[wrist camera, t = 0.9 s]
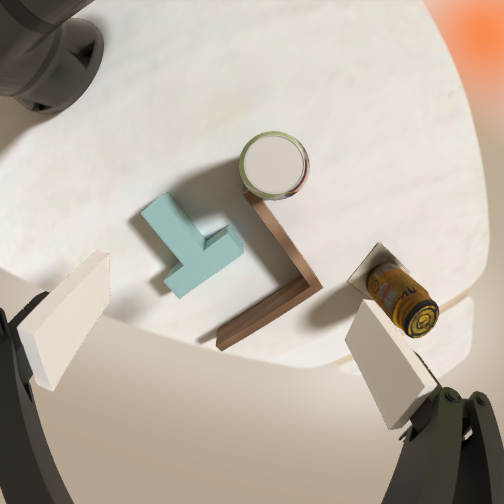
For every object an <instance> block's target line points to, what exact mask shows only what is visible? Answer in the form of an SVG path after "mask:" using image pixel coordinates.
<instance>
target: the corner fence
mask: <svg viewBox="0 0 504 504" xmlns="http://www.w3.org/2000/svg"><path fill="white" fill-rule="evenodd" d="M243 195H244V196H245V198H246V199H247V200H248V202H249V203H250V204H251V206H252V207H253V208H254V210H255V211H256V212H257V214H258V215H259V216H260V218H261V219H262V220H263V222H264V223H265V224H266V226H267V227H268V228H269V230H270V231H271V233H272V234H273V235H274V237H275V238H276V239H277V241H278V242H279V243H280V245H281V246H282V248H283V249H284V250H285V252H286V253H287V254H288V256H289V257H290V259H291V260H292V261H293V263H294V264H295V265H296V267H297V268H298V270H299V271H300V272H301V274H302V275H301V276H299V277H298V278H296V279H295V280H293V281H292V282H291V283H289V284H288V285H286V286H285V287H283V288H282V289H280V290H279V291H277V292H276V293H274V294H272V295H271V296H269V297H268V298H266V299H265V300H263V301H262V302H260V303H259V304H257V305H256V306H254V307H253V308H251V309H249V310H248V311H246V312H245V313H243V314H242V315H240V316H238V317H237V318H235V319H234V320H232V321H230V322H229V323H227V324H226V325H224V326H222V327H221V328H219V329H218V330H217V340H216V347H217V348H218V349H219V350H220V351H223V350H225V349H227V348H228V347H230V346H232V345H234V344H235V343H237V342H239V341H240V340H242V339H244V338H245V337H247V336H249V335H250V334H252V333H254V332H255V331H257V330H259V329H260V328H262V327H264V326H265V325H267V324H268V323H270V322H272V321H273V320H275V319H277V318H278V317H280V316H281V315H283V314H284V313H286V312H288V311H289V310H291V309H292V308H294V307H295V306H297V305H298V304H300V303H301V302H303V301H304V300H306V299H307V298H309V297H310V296H312V295H313V294H315V293H316V292H318V291H319V290H321V289H322V288H323V287H322V285H321V283H320V282H319V280H318V278H317V277H316V275H315V274H314V272H313V271H312V269H311V268H310V266H309V265H308V263H307V262H306V260H305V259H304V258H303V256H302V255H301V253H300V252H299V250H298V249H297V248H296V246H295V245H294V243H293V242H292V241H291V239H290V238H289V236H288V235H287V233H286V232H285V231H284V229H283V228H282V226H281V225H280V224H279V222H278V221H277V220H276V218H275V217H274V215H273V214H272V213H271V211H270V210H269V209H268V207H267V206H266V204H265V203H264V202H263V200H262V199H261V198H260V197H259V196H257V195H255V194H254V193H252V192H251V191H250V190H249V189H248V188H246V189H244V190H243Z"/></svg>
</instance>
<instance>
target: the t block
mask: <svg viewBox="0 0 504 504" xmlns="http://www.w3.org/2000/svg"><path fill="white" fill-rule="evenodd" d="M141 214H142V216H143V217H144V218H145V219H146V221H147V222H148V223H149V224H150V226H151V227H152V228H153V229H154V231H155V232H156V233H157V234H158V235H159V237H160V238H161V239H162V240H163V242H164V243H165V244H166V245H167V246H168V248H169V249H170V250H171V251H172V252H173V253H174V255H175V256H176V257H177V258H178V259H179V261H180V262H179V263H177V264H176V265H175V266H173V267H172V268H171V269H170V270H169V272H168V274H167V276H166V277H165V279H164V281H163V282H164V283H165V284H166V285H167V286H168V287H169V288H170V290H171V291H172V292H173V293H174V294H175V295H176V296H177V297H178V298H179V299H180V298H181V297H183V296H184V295H186V294H187V293H188V292H190V291H191V290H193V289H194V288H195V287H197V286H198V285H200V284H201V283H202V282H204V281H205V280H207V279H208V278H210V277H211V276H212V275H214V274H215V273H217V272H218V271H219V270H221V269H222V268H224V267H225V266H226V265H228V264H229V263H231V262H232V261H233V260H235V259H236V258H238V257H239V256H241V255H242V254H243V242H242V241H241V240H240V239H239V237H238V236H237V235H236V233H235V232H234V231H233V230H232V228H231V227H230V226H229V225H228V226H226V227H225V228H223V229H222V230H221V231H219V232H218V233H217V234H215V235H214V236H213V237H211V238H210V239H209V240H206V239H205V238H204V237H203V235H202V234H201V233H200V232H199V230H198V229H197V228H196V227H195V225H194V224H193V223H192V222H191V221H190V219H189V218H188V217H187V216H186V214H185V213H184V212H183V211H182V209H181V208H180V207H179V206H178V204H177V203H176V202H175V200H174V199H173V198H172V197H171V195H170V194H169V193H168V192H167V193H165V194H163V195H161V196H159V197H158V198H157V199H156V200H155V201H154V202H152V203H151V204H150V205H149V206H148V207H147V208H146V209H145V210H143V211H142V212H141Z"/></svg>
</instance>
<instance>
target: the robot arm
mask: <svg viewBox="0 0 504 504" xmlns="http://www.w3.org/2000/svg"><path fill="white" fill-rule="evenodd" d="M93 1H95V0H0V95H1V96H10V97H13V98H14V99H16V100H17V101H18V102H19V103H21V104H22V105H23V106H25V107H26V108H27V109H29V110H31V111H33V112H36V113H44V114H51V113H56V112H59V111H61V110H63V109H65V108H67V107H68V106H70V105H71V104H72V103H73V102H75V101H76V100H77V99H78V98H79V97H80V96H81V95H82V94H83V93H84V91H85V90H86V89H87V88H88V86H89V85H90V83H91V82H92V80H93V79H94V77H95V75H96V73H97V71H98V69H99V66H100V64H101V60H102V56H103V50H104V42H103V37H102V34H101V32H100V31H99V30H98V29H97V28H96V27H95V26H94V25H93V24H91V23H90V22H88V21H86V20H83V19H78V18H71V17H72V16H73V15H75V14H76V13H77V12H79V11H80V10H81V9H83V8H84V7H86V6H87V5H89V4H90V3H92V2H93ZM109 262H110V254H109V253H104V252H100V251H96V252H94V253H93V254H92V255H91V256H90V257H89V258H87V259H86V260H85V261H84V262H83V263H82V264H81V265H79V266H78V267H77V268H76V269H75V270H74V271H73V272H72V273H71V274H70V275H68V276H67V277H66V278H65V279H64V280H63V281H62V282H61V283H60V284H59V285H58V286H57V287H56V288H55V289H54V290H53V291H52V292H50V293H49V292H46V291H45V292H43V293H41V294H39V295H37V296H35V297H34V298H33V299H32V300H31V301H30V302H29V304H27V305H26V306H25V307H24V309H22V310H21V311H20V312H19V313H18V314H17V315H16V316H15V317H14V318H13V319H12V320H11V321H10V322H9V323H7V320H6V316H5V312H4V310H3V309H2V308H0V487H1V490H2V493H3V496H4V499H5V501H6V504H74V503H73V501H72V499H71V497H70V495H69V493H68V491H67V489H66V487H65V485H64V483H63V481H62V479H61V476H60V474H59V472H58V470H57V467H56V465H55V462H54V460H53V457H52V455H51V452H50V449H49V447H48V444H47V441H46V438H45V435H44V432H43V429H42V426H41V423H40V419H39V416H38V412H37V409H36V405H35V401H34V397H33V393H32V388H31V385H30V383H29V379H30V378H31V377H32V375H34V378H35V380H36V382H37V385H39V386H42V387H44V388H46V389H48V390H50V391H54V389H55V387H56V385H57V384H58V382H59V380H60V378H61V377H62V375H63V373H64V372H65V370H66V368H67V367H68V365H69V363H70V361H71V360H72V358H73V357H74V355H75V353H76V352H77V350H78V349H79V347H80V346H81V344H82V342H83V341H84V339H85V338H86V336H87V335H88V333H89V331H90V330H91V329H92V327H93V326H94V324H95V323H96V321H97V320H98V318H99V317H100V315H101V314H102V312H103V311H104V309H105V308H106V307H107V305H108V304H109V302H110V279H109ZM345 342H346V344H347V345H348V347H349V349H350V351H351V353H352V355H353V357H354V359H355V361H356V363H357V365H358V367H359V369H360V371H361V373H362V375H363V377H364V379H365V381H366V383H367V385H368V387H369V389H370V391H371V394H372V396H373V398H374V400H375V402H376V404H377V406H378V408H379V410H380V412H381V414H382V417H383V419H384V421H385V423H386V425H387V428H388V430H393V429H398V428H402V427H403V426H404V425H405V424H406V422H407V421H408V420H409V419H410V421H411V423H412V425H411V426H410V427H409V428H408V429H407V431H405V432H404V433H403V434H402V436H400V438H399V440H401V439H402V438H403V437H405V436H406V438H405V440H404V441H403V442H404V445H403V448H402V451H401V454H400V457H399V460H398V463H397V466H396V468H395V471H394V474H393V476H392V479H391V482H390V484H389V487H388V489H387V492H386V494H385V496H384V499H383V501H382V503H381V504H504V448H503V444H502V440H501V436H500V432H499V429H498V425H497V422H496V418H495V415H494V412H493V409H492V406H491V403H490V401H489V399H488V398H487V396H486V395H485V394H483V393H481V392H478V391H475V392H473V394H472V395H471V396H470V398H469V399H462V398H461V396H460V395H459V393H458V392H457V391H455V390H454V389H452V388H449V387H444V388H442V386H441V385H440V384H439V382H438V381H437V379H436V378H435V376H434V375H433V374H432V372H431V371H430V369H428V367H427V365H426V364H424V361H423V360H422V359H421V357H420V356H419V355H418V354H417V353H416V352H415V351H413V350H412V349H411V347H410V346H409V345H408V343H407V342H406V341H405V339H404V338H403V337H402V335H401V334H400V333H399V331H398V330H397V329H396V327H395V326H394V325H393V324H392V322H391V321H390V320H389V319H388V317H387V316H386V315H385V313H384V312H383V311H382V310H381V308H380V307H379V306H378V305H377V303H376V302H375V301H373V300H366V299H363V300H362V303H361V305H360V307H359V310H358V312H357V314H356V316H355V318H354V321H353V323H352V325H351V327H350V329H349V331H348V333H347V336H346V338H345ZM471 429H472V433H473V434H472V435H471V436H470V437H469V438H468V439H466V440H465V437H464V436H465V435H466V434H467V433H468V432H469V431H470V430H471Z"/></svg>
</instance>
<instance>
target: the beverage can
mask: <svg viewBox="0 0 504 504" xmlns="http://www.w3.org/2000/svg"><path fill="white" fill-rule="evenodd" d="M309 167H310V165H309V158H308V155H307V152H306V150H305V148H304V147H303V146H302V144H301V143H300V142H299V141H298V140H297V139H295V138H294V137H292V136H290V135H288V134H286V133H282V132H275V131H272V132H265V133H262V134H259V135H257V136H255V137H254V138H253V139H251V140H250V141H249V142H248V143H247V144H246V146H245V147H244V148H243V150H242V153H241V155H240V159H239V172H240V175H241V178H242V180H243V182H244V184H245V185H246V187H247V188H248V189H249V190H250V191H251V192H252V193H254V194H255V195H257V196H259V197H261V198H263V199H267V200H282V199H286V198H288V197H291V196H293V195H294V194H296V193H297V192H298V191H299V190H300V189H301V188H302V187H303V185H304V184H305V182H306V180H307V178H308V174H309Z"/></svg>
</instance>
